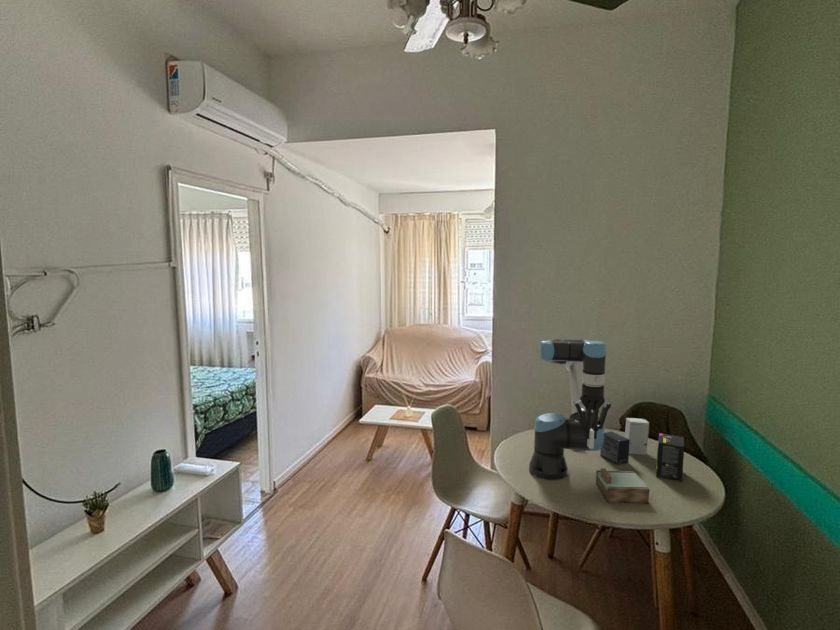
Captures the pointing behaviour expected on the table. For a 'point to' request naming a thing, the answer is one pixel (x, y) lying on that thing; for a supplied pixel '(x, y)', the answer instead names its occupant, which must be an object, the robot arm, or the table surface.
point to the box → (623, 492)
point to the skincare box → (637, 435)
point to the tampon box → (670, 457)
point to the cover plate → (620, 479)
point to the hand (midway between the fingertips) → (590, 446)
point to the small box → (615, 448)
